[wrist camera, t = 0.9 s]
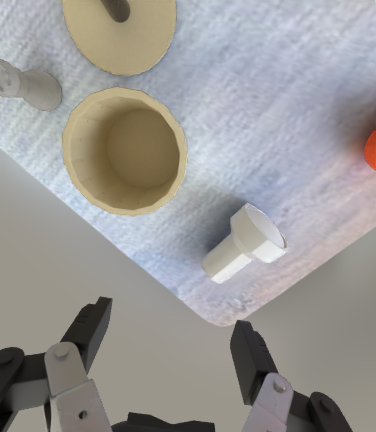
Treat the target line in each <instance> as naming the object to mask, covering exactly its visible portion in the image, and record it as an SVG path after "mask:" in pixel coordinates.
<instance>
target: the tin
mask: <svg viewBox="0 0 376 432" xmlns="http://www.w3.org/2000/svg"><path fill="white" fill-rule="evenodd" d="M62 145H63V162H64V165H65V167H66V169H67V171H68V174H69V176H70V178H71V181H72V183H73V184H74V186H75V187H76V188H77V189H78V190H79V191H80V193H81V194H82V195H83V196H84V197H85V198H86V199H87V200H88V201H89V202H90V203H92V204H93V205H95V206H97V207H99V208H101V209H103V210H105V211H107V212H109V213H111V214H117V215H125V216H138V215H142V214H146V213H150V212H154V211H156V210H158V209H159V208H160V207H162V206H163V205H164V204H166V203H167V202H168V201H170V200H171V199H172V198H173V197H174V195H175V194H176V192H177V190H178V188H179V187H180V185H181V183H182V182H183V180H184V178H185V170H186V163H187V156H188V147H187V143H186V139H185V135H184V131H183V129H182V128H181V127H180V125H179V124H178V122H177V121H176V120H175V118H174V117H173V115H172V114H171V113H170V112H169V110H168V109H167V108H166V106H164V105H163V104H161V103H160V102H158V101H157V100H155V99H154V98H152V97H150V96H149V95H147V94H146V93H144V92H143V91H139V90H133V89H126V88H120V87H112V88H109V89H106V90H102V91H99V92H96V93H92V94H90V95H88V96H87V97H86V98H85V99H84V100H83V101H82V102H81V103H80V104H79V105H78V106H77V107H76V108H75V109H74V110H73V111H72V112H71V114H70V116H69V119H68V122H67V124H66V127H65V129H64V132H63V135H62Z"/></svg>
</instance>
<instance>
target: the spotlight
mask: <svg viewBox="0 0 376 432" xmlns="http://www.w3.org/2000/svg"><path fill="white" fill-rule="evenodd" d="M230 221H231V234H229V235H228V236H227V237H226V238H225V239H224V240H223V241H222V242H220V243H219V244H218V245H217V246H216V247H215V248H214V249H212V250H211V251H210V252H209V253H208V254H207V255H206V256H204V257H203V259H202V267H203V270H204V271H205V273H206V274H207V276H208V277H209V278H210V279H211V280H213V281H214V282H216V283H219V284H221V283H224V282H225V281H226V280H227V279H229V278H230V277H231V276H233V275H234V274H235V273H237V272H238V271H239V270H241V269H242V268H243V267H245V266H246V265H247V264H249V263H250V262H251V261H253V260H258V261H262V262H266V263H271V262H273V261H275V260H276V259H278V258H279V257H280V256H282V255H283V254H285V253H286V252H287V251H289V245H288V243H287V240H286V239H285V237H284V236H283V234H282V233H281V231H280V230H279V229H278V227H277V226H276V225H275V224H274V223H273V222H272V221H271V220H270V219H269V218H268V217H267V216H266V215H265V214H264V213H263V212H262V211H261V210H259V209H258V208H257V207H255V206H253V205H252V204H249V203H246V204H245V205H244V206H243V207H242V208H241V209H240V210H239V211H237V212H236V213H235V214H234V215H233V216H232V217H231V218H230Z"/></svg>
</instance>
